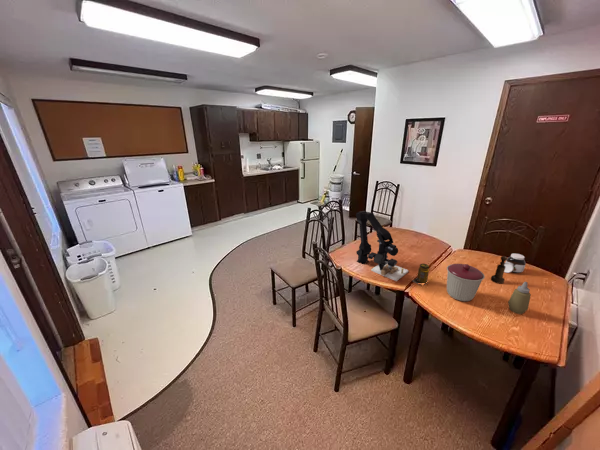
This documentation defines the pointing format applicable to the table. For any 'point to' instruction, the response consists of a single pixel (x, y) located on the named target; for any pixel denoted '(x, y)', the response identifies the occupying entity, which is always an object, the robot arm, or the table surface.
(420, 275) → the condiment
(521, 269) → the spread jar
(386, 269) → the block
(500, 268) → the pepper mill
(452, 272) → the canister
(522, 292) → the squeeze bottle
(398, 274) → the board
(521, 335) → the table surface
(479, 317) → the table surface
